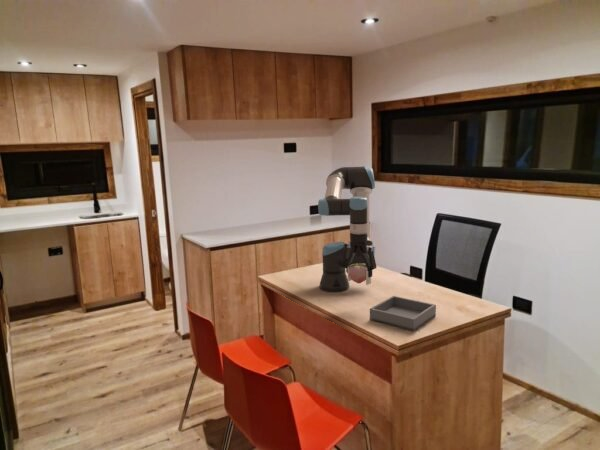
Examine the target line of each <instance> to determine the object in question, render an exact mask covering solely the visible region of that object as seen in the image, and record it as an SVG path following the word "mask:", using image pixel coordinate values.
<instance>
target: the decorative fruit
mask: <svg viewBox="0 0 600 450" xmlns="http://www.w3.org/2000/svg"><path fill="white" fill-rule="evenodd" d="M349 267H350V269H349V277H350V278H351V280H350V281H353V282H354V283H357V284H361V283H364V282H366V270H368V269H367V267H366V264H364V263H361V264H359V262H358V264H352V265H350V266H349ZM349 267H348V268H349Z"/></svg>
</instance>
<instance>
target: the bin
mask: <svg viewBox="0 0 600 450" xmlns="http://www.w3.org/2000/svg"><path fill="white" fill-rule="evenodd" d="M436 309H437V305H436V304H433V303H428V302H424V301H419V300H415V299H410V298H405V297H401V296H396V295H391V297H388V298H387V299H385V300H383V301H382V302H379V303H378V304H376V305H373V306H372V307H371V308H369V321H371V322H375V323H380V324H384V325H387V326H391V327H395V328H399V329H403V330H406V331H411V332H413V333H414V332H415V331H417V330H418V329H420V328H421V327H422V326H424V325H425V324H426V323H428V322H429V321H431V320H432V319H434V318H435V317H436V315H437V313H436V312H437V310H436Z"/></svg>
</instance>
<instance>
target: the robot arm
mask: <svg viewBox="0 0 600 450" xmlns="http://www.w3.org/2000/svg"><path fill="white" fill-rule="evenodd" d="M325 181H326V182H325V185H326V189H325V193H324V198H322V199H321V198H320V199H319V200H318V203H317V209H318V214H319V216H325V217H326V216H329V217H330V216H333V217H334V216H349V229H350V230H349V231H350V234H349V242H346V243H345V241H333V242H329V243H326V244H325V245H323V246H322V253H321V255H322V275H321V278H320V282H319V288H320V290H322V291H325V292H331V293H337V292H343V291H346V290H348V289H350V281H352V280H351V278H350V277H349V269H350V267H349V266H350V265H352V264H358V262H359V264H361V263H364V264H366V267H367V269H368V270H366V280H365V282H366V283H365V284H366V285H367V286H368V285H371V284H372V277H373V270H375V269H377V263H376V258H375V255H376V245H375V244H374V243H373V242H374V241H373V240H372V239H370V235H371V234H370V194H372V193H373V189H375V188H376V186H375V185H376V183H375V182H376V181H375V175H374V169H373V168H372V167H371V166H342V167H339V168H336V169H335V170H333V171H332V172H331V173H329V174H328V176H327V178H326V179H325ZM342 190H349V192H350V194H352V197H350V198H341V197H342V192H343V191H342ZM348 267H349V268H348Z"/></svg>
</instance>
